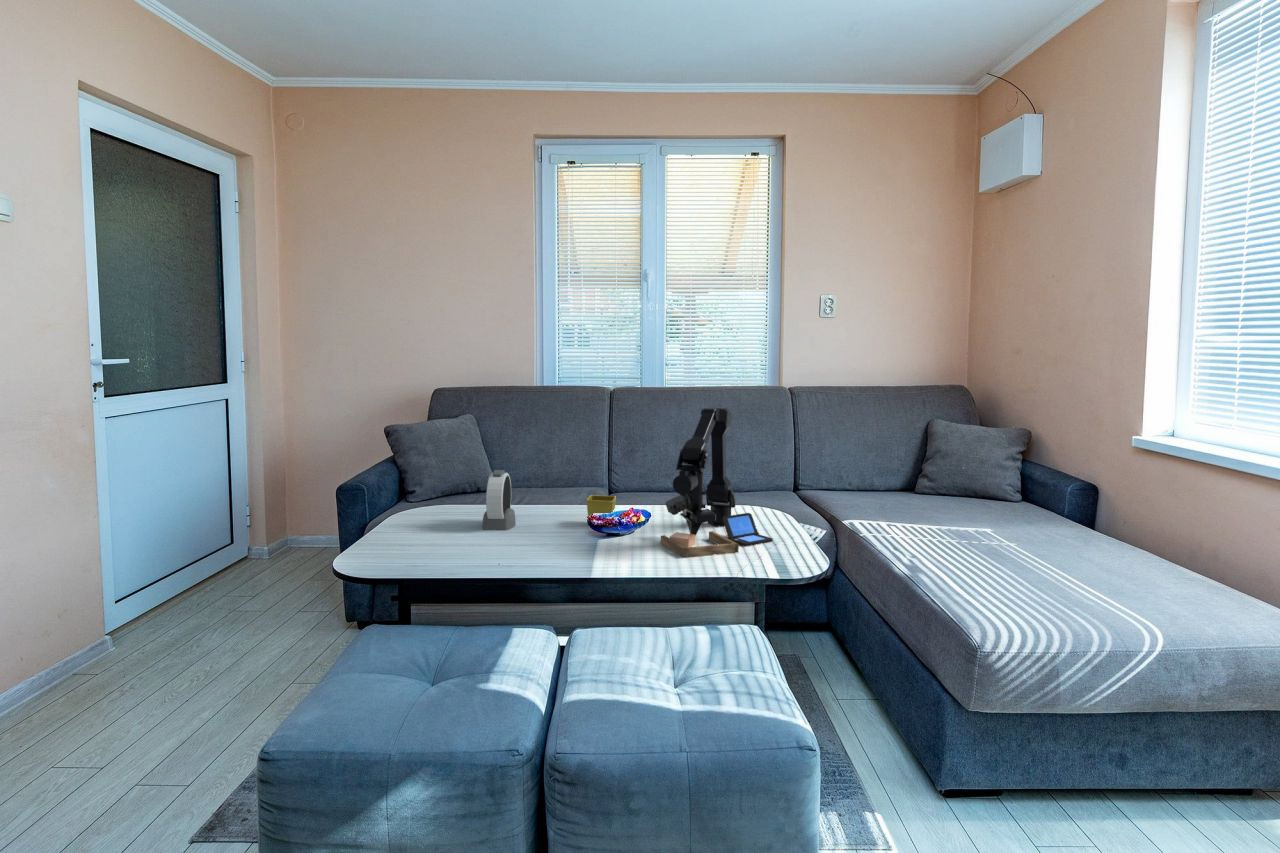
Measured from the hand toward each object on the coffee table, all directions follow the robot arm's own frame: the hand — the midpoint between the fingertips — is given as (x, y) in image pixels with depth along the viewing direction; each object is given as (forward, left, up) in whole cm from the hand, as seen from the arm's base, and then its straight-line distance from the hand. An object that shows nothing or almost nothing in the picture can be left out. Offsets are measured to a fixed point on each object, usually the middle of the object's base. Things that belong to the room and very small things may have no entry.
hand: (693, 537), depth 236 cm
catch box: (+1, +5, -2) cm, 6 cm away
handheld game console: (-17, +2, -2) cm, 18 cm away
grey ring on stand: (+50, -41, -2) cm, 64 cm away
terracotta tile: (+4, +1, -2) cm, 5 cm away
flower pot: (+18, -32, -2) cm, 36 cm away
